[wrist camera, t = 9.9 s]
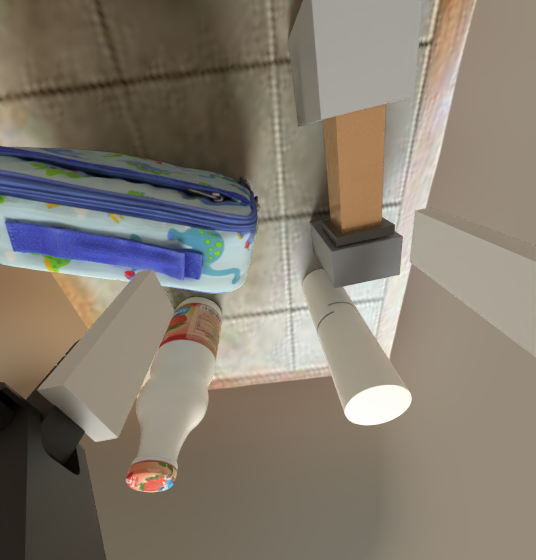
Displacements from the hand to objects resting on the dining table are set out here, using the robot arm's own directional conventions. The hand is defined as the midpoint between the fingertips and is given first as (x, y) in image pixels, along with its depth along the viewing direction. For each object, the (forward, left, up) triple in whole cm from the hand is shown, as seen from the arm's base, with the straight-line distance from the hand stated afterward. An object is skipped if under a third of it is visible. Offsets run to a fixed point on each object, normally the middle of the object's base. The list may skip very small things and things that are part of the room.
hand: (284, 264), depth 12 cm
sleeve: (-10, +11, -29) cm, 32 cm away
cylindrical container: (+21, +7, -29) cm, 36 cm away
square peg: (+2, +11, -24) cm, 26 cm away
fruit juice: (+22, -18, -29) cm, 41 cm away
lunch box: (-1, -14, -29) cm, 32 cm away
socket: (+11, +11, -29) cm, 33 cm away
